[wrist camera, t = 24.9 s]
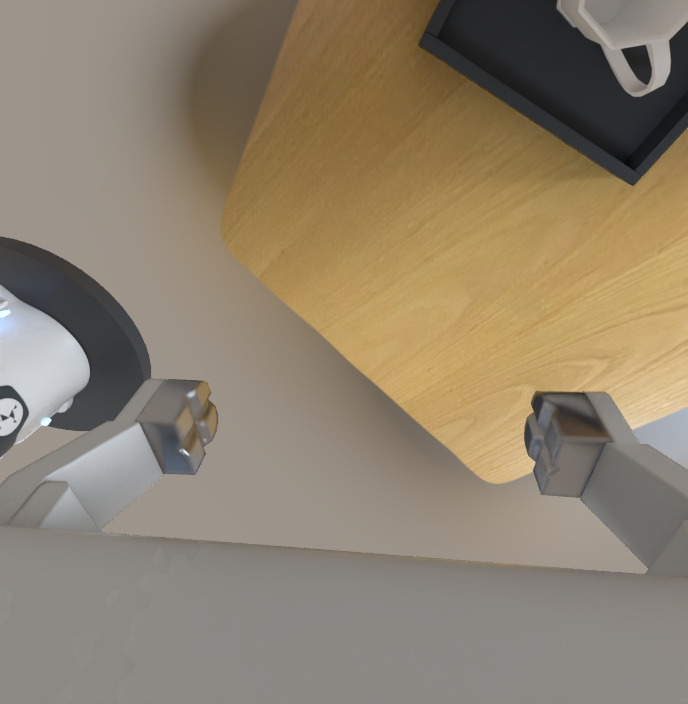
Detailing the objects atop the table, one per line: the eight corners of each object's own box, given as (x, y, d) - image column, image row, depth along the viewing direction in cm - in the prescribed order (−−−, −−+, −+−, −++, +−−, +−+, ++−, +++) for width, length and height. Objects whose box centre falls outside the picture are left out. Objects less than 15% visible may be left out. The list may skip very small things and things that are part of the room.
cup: (644, -131, 23) (741, -204, 17) (672, 57, 28) (757, 57, 21) (518, -40, 26) (559, -72, 19) (562, 118, 30) (608, 135, 24)
